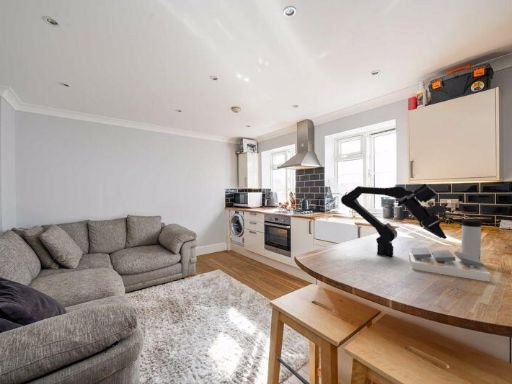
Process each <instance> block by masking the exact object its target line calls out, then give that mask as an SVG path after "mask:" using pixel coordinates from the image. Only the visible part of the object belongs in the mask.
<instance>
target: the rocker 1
mask: <svg viewBox="0 0 512 384" xmlns="http://www.w3.org/2000/svg"><path fill="white" fill-rule="evenodd" d="M410 250H411V253H413V256H414V258H427V257H432V256H433V255H432V252H430V251H429V248H428V247H416V248H415V247H413V248H410Z"/></svg>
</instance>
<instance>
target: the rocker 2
mask: <svg viewBox="0 0 512 384" xmlns="http://www.w3.org/2000/svg"><path fill="white" fill-rule="evenodd" d="M430 253H431V256H434V258H435V259H436V261H456V259H457V258H456V256H455V255H454V254H453V253H452V252H451V251H450V250H448V249H447V250H446V249H445V250H444V249H443V250H441V249H440V250H431V252H430Z"/></svg>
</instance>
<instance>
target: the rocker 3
mask: <svg viewBox="0 0 512 384" xmlns="http://www.w3.org/2000/svg"><path fill="white" fill-rule="evenodd" d="M453 255H454V256H455V257H456V258H457V259H460V260H461V261H462V262H465V263H469V264H472V265H475V266H479V267H482V268H484V264H485V263H483V262H482V261H481V260H480V261H479V260H478V259H477V258H475V257H474V256H471V255H468V254H464V253H461V251H457V250H455V251H454V254H453Z"/></svg>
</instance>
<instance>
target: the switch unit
mask: <svg viewBox="0 0 512 384" xmlns="http://www.w3.org/2000/svg"><path fill="white" fill-rule="evenodd" d="M431 256H432V257H427V258H414V256H413V253H412V252H408V261H409V264H410V267H411V269H412V270H417V271H421V272H427V273H429V272H430V273H433V274H441V275H447V276H452V277H459V278H466V279H471V280H478V281H481V282H482V281H484V282H491V273H490V272H489V271H487V269H485V268H484V267H483V268H482V267H479V266H475V265H472V264H469V263H465V262H462V261H461V260H460V259H459V258H455V259H456V261H436V259H435V258H434V256H433V255H431Z"/></svg>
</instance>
